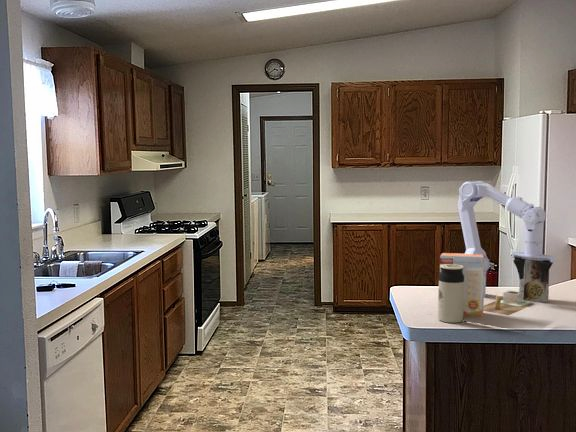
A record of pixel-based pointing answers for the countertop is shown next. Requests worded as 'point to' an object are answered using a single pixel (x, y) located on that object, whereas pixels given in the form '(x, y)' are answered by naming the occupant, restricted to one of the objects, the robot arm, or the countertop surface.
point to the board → (505, 306)
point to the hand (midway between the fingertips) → (532, 280)
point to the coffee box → (534, 282)
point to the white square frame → (513, 297)
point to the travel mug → (451, 293)
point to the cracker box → (469, 280)
